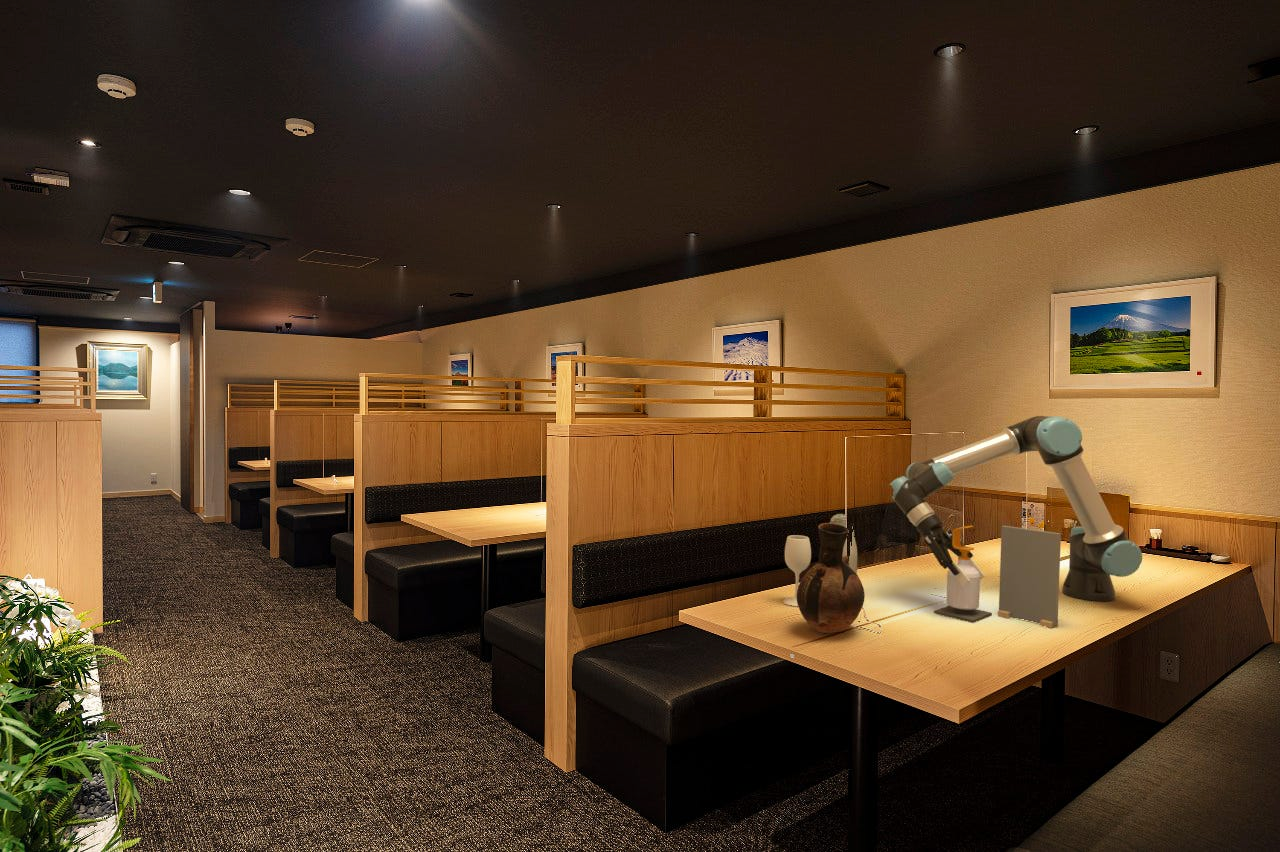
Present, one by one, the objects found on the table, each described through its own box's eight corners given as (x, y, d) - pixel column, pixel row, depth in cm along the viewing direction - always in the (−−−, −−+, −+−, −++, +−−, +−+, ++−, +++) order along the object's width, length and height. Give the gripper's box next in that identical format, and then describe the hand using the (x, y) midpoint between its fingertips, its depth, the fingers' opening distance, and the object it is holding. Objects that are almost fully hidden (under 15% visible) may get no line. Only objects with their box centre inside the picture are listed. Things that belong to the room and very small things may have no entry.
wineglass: (777, 602, 235) (778, 537, 234) (792, 597, 241) (794, 533, 240) (800, 608, 229) (802, 541, 228) (816, 603, 235) (817, 537, 234)
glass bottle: (824, 595, 245) (826, 510, 243) (856, 598, 242) (858, 512, 240) (822, 603, 235) (824, 515, 234) (855, 606, 232) (858, 517, 231)
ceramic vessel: (822, 616, 222) (825, 516, 220) (877, 629, 209) (880, 524, 208) (781, 631, 207) (784, 524, 206) (837, 647, 194) (840, 533, 193)
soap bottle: (969, 611, 219) (972, 529, 218) (940, 604, 226) (943, 524, 225) (984, 606, 224) (987, 525, 223) (955, 599, 231) (958, 521, 230)
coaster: (953, 606, 234) (953, 603, 234) (991, 615, 224) (991, 612, 224) (933, 613, 226) (934, 610, 226) (973, 622, 217) (973, 620, 217)
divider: (1003, 612, 227) (1006, 525, 226) (1059, 625, 215) (1063, 532, 214) (996, 615, 224) (999, 526, 223) (1052, 628, 212) (1056, 534, 211)
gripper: (934, 524, 243) (981, 582, 231) (899, 531, 229) (947, 593, 217) (950, 510, 239) (999, 568, 227) (915, 516, 224) (965, 579, 213)
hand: (973, 580), depth 222 cm, fingers closed on soap bottle, 9 cm apart
